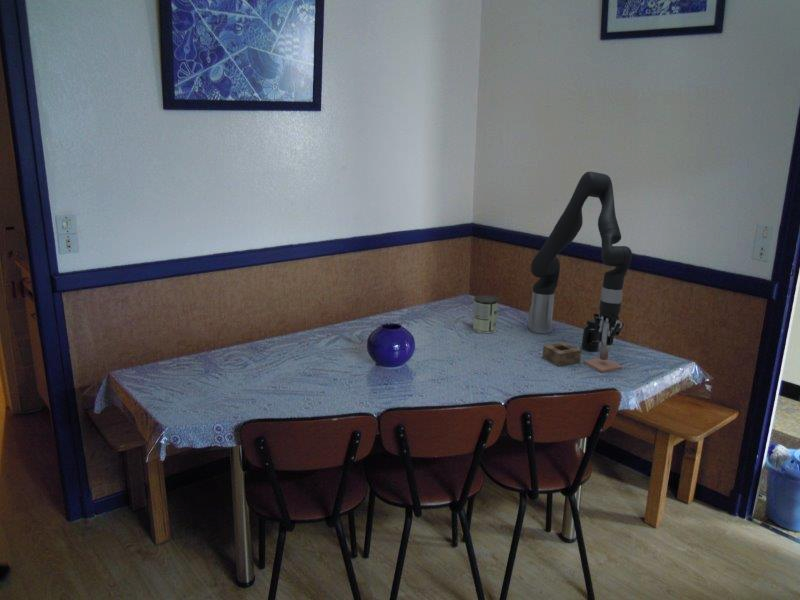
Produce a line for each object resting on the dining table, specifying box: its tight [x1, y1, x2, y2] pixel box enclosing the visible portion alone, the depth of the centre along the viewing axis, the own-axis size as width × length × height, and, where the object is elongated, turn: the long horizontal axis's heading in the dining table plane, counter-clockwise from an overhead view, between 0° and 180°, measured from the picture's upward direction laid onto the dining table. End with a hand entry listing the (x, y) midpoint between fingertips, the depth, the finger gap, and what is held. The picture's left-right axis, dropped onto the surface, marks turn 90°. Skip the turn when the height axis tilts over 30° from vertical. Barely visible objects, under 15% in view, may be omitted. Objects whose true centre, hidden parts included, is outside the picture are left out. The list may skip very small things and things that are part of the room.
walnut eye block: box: [542, 341, 582, 367], centre depth 265 cm, size 10×10×5 cm
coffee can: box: [472, 294, 500, 334], centre depth 295 cm, size 10×10×14 cm
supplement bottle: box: [581, 318, 601, 353], centre depth 276 cm, size 7×7×12 cm
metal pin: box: [598, 321, 612, 360], centre depth 258 cm, size 3×3×16 cm
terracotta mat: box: [583, 357, 623, 374], centre depth 261 cm, size 10×10×1 cm
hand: (605, 343), depth 258 cm, fingers closed on metal pin, 3 cm apart
